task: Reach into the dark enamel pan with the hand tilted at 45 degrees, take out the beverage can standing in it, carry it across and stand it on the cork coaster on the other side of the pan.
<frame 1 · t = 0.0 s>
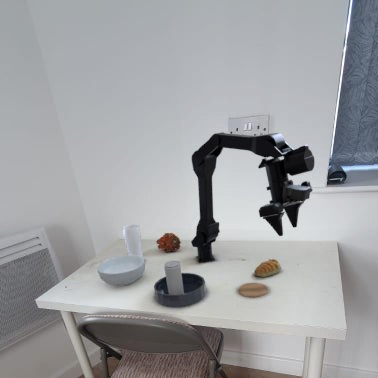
hand: (288, 231, 101), 15 cm above the table, tool pointing down, fingers open, 9 cm apart
drinking glass: (137, 262, 134), on the table
pan: (180, 294, 105), on the table
pastry: (267, 272, 113), on the table
coaster: (253, 290, 102), on the table
beverage can: (177, 299, 102), resting on pan
cereal bowl: (124, 281, 119), on the table
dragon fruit: (169, 251, 142), on the table
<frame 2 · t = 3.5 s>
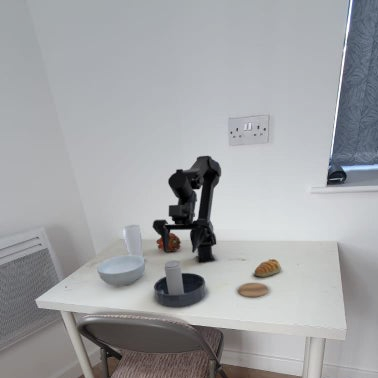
hand: (178, 252, 101), 13 cm above the table, tool tilted 45°, fingers open, 9 cm apart
nothing on the table moved.
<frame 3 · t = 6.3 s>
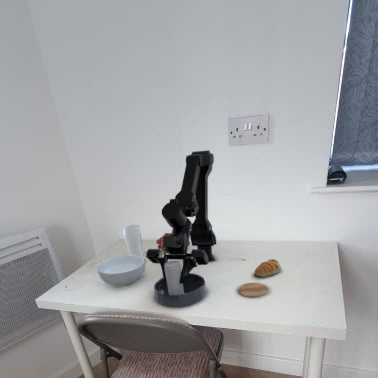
hand: (172, 283, 98), 7 cm above the table, tool tilted 45°, fingers closed on beverage can, 5 cm apart
beverage can: (177, 299, 102), resting on pan, touching gripper
everything else where it was.
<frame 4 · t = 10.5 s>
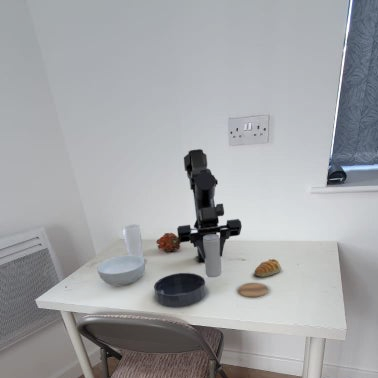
hand: (212, 257, 95), 13 cm above the table, tool tilted 45°, fingers closed on beverage can, 5 cm apart
beverage can: (213, 275, 99), point 7 cm above the table, touching gripper
everything else where it was.
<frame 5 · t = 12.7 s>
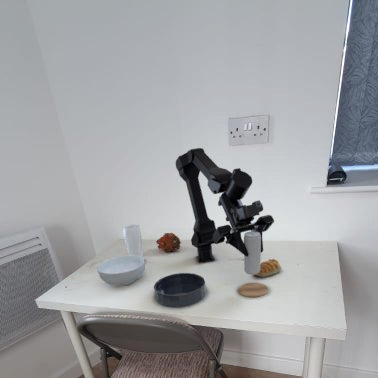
hand: (254, 253, 95), 13 cm above the table, tool tilted 45°, fingers closed on beverage can, 5 cm apart
beverage can: (252, 272, 100), point 6 cm above the table, touching gripper
everything else where it was.
when the fingers open (7 cm above the table, at t = 14.7 s): beverage can stays where it is, resting on coaster.
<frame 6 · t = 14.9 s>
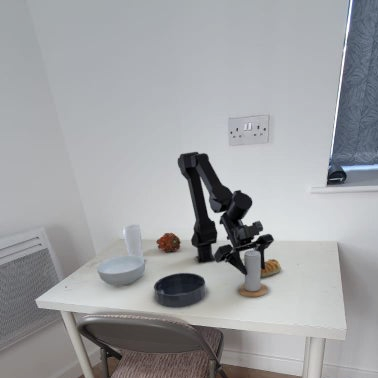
hand: (255, 272, 98), 7 cm above the table, tool tilted 45°, fingers open, 6 cm apart
beverage can: (252, 289, 103), resting on coaster
everything else where it was.
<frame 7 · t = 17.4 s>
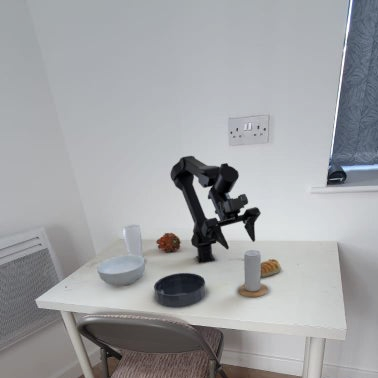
hand: (241, 245, 101), 13 cm above the table, tool tilted 45°, fingers open, 9 cm apart
nothing on the table moved.
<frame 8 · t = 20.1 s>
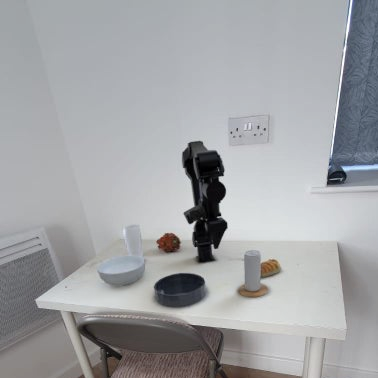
hand: (213, 244, 108), 12 cm above the table, tool pointing down, fingers open, 9 cm apart
nothing on the table moved.
at the end: beverage can 0.2 cm off-centre on the coaster, point 0.2 cm above the coaster's base; beverage can tilted 0°; the gripper is holding nothing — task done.
